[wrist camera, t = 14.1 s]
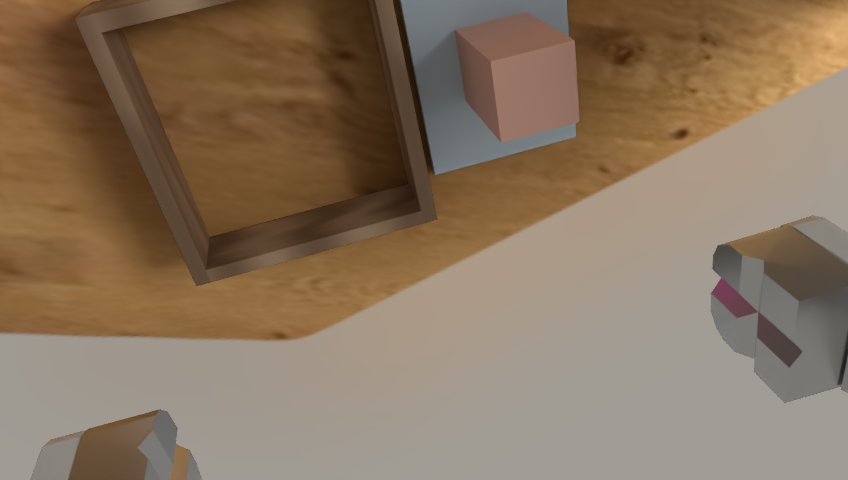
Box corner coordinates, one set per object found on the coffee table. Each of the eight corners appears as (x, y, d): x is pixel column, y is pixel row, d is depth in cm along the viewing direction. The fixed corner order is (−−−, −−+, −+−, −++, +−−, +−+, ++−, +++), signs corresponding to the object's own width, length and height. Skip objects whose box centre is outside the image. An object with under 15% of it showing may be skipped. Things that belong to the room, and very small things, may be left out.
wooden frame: (369, -64, 41) (381, -55, 37) (423, 191, 51) (437, 219, 47) (91, 2, 40) (74, 18, 36) (200, 252, 49) (196, 286, 45)
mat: (556, -81, 43) (560, -80, 42) (571, 133, 51) (576, 137, 50) (390, -42, 42) (392, -40, 41) (432, 170, 50) (435, 175, 49)
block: (526, 11, 45) (574, 40, 38) (533, 83, 47) (579, 122, 40) (454, 29, 44) (490, 61, 37) (465, 100, 47) (501, 142, 40)
